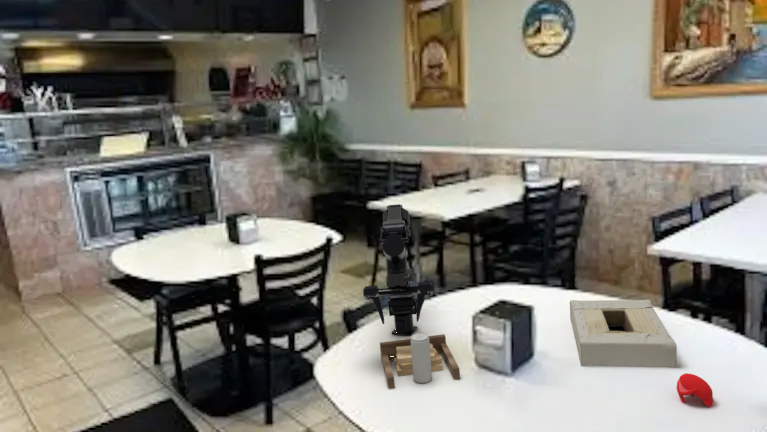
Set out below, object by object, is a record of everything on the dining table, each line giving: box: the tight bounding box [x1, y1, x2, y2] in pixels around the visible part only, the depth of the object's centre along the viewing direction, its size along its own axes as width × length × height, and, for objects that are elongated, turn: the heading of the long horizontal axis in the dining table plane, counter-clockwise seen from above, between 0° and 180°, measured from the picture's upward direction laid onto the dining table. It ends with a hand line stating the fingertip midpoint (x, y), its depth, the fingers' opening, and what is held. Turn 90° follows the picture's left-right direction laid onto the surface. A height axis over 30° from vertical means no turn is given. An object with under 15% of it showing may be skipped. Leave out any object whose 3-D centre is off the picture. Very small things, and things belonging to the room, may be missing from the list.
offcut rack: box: [379, 333, 461, 389], centre depth 160 cm, size 18×19×5 cm
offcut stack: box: [393, 344, 443, 377], centre depth 161 cm, size 9×12×4 cm
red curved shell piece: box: [676, 373, 714, 408], centre depth 132 cm, size 8×6×6 cm
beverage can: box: [410, 332, 433, 384], centre depth 153 cm, size 5×5×12 cm
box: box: [569, 299, 678, 369], centre depth 165 cm, size 23×8×32 cm
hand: (400, 322), depth 159 cm, fingers open, 9 cm apart
